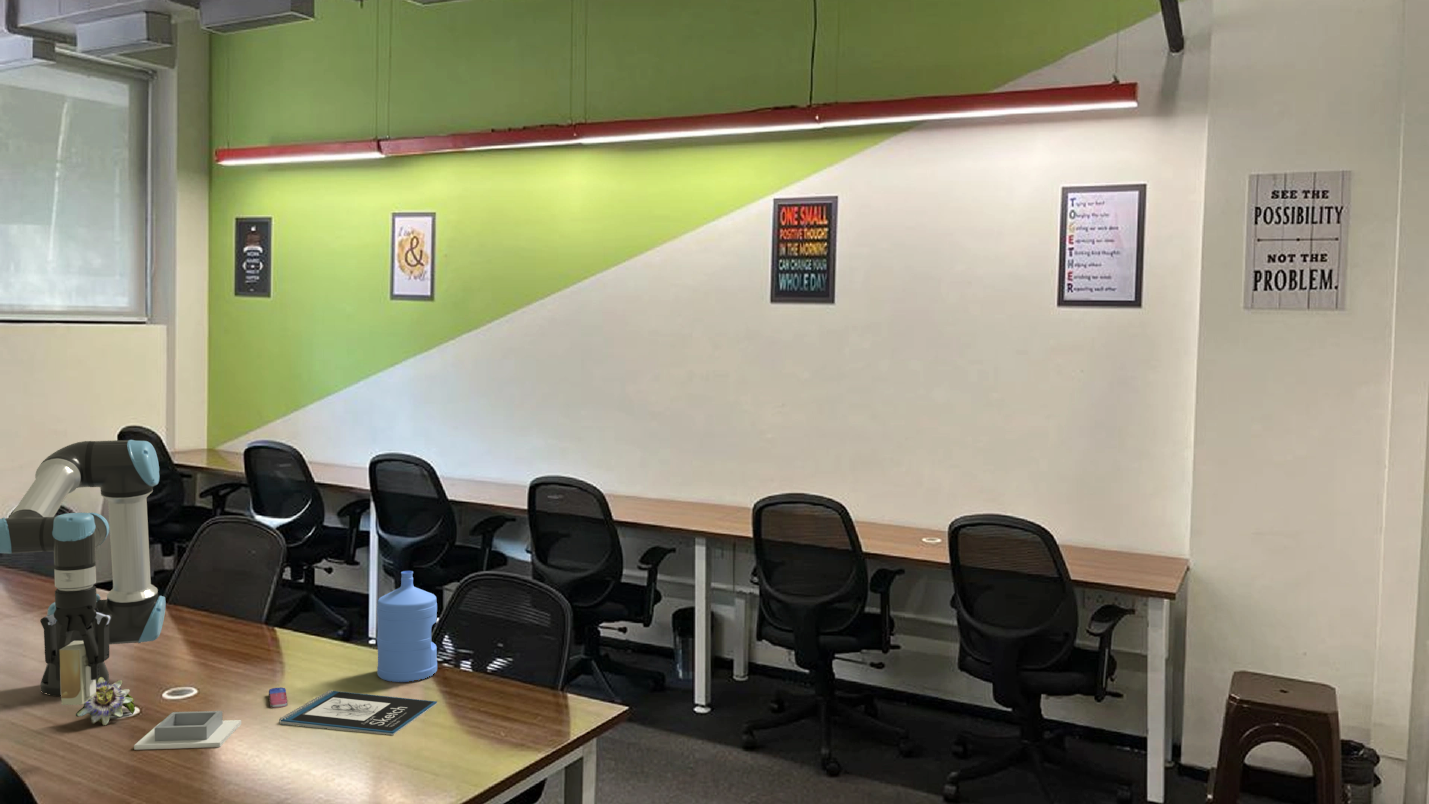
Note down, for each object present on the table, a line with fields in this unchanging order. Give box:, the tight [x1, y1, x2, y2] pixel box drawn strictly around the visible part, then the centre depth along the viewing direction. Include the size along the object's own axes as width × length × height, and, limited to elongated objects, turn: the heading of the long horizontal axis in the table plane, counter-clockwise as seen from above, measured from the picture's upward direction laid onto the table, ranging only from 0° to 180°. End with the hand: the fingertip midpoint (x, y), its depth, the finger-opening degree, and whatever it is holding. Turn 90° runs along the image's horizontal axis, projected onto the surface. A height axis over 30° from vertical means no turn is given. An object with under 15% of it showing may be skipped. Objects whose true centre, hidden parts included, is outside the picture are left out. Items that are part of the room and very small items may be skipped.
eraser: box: [268, 687, 288, 709], centre depth 262 cm, size 11×4×2 cm, turn 25°
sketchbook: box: [278, 689, 438, 736], centre depth 254 cm, size 22×30×2 cm
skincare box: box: [60, 641, 96, 706], centre depth 223 cm, size 6×4×12 cm
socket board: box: [133, 710, 242, 751], centre depth 238 cm, size 18×14×4 cm
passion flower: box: [75, 677, 136, 726], centre depth 248 cm, size 11×11×12 cm
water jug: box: [376, 570, 438, 683], centre depth 283 cm, size 16×16×28 cm
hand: (78, 694), depth 223 cm, fingers closed on skincare box, 4 cm apart
